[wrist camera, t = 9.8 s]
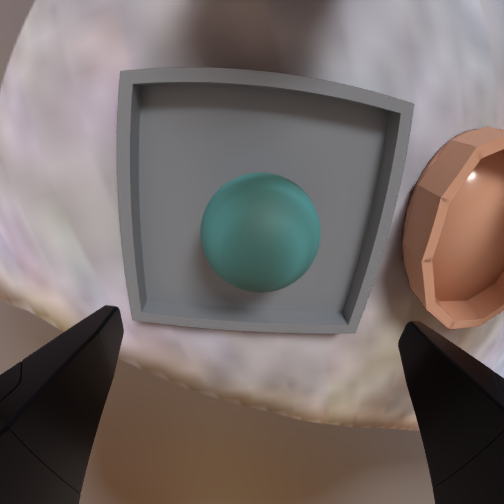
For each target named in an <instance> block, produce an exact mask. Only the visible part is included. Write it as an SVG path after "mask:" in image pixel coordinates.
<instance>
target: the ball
mask: <svg viewBox="0 0 504 504" xmlns="http://www.w3.org/2000/svg"><path fill="white" fill-rule="evenodd" d="M200 233H201V243H202V248H203V251H204V254H205V257H206V259H207V261H208V262H209V264H210V266H211V267H212V269H213V270H214V271H215V272H216V273H217V274H218V275H219V276H220V277H221V278H222V279H223V280H224V281H226V282H227V283H229V284H230V285H232V286H234V287H236V288H239V289H241V290H245V291H249V292H257V293H265V292H272V291H277V290H280V289H283V288H285V287H287V286H289V285H291V284H293V283H294V282H296V281H297V280H298V279H300V278H301V277H302V276H303V275H304V274H305V273H306V272H307V270H308V269H309V268H310V266H311V265H312V263H313V261H314V260H315V257H316V255H317V252H318V249H319V245H320V238H321V227H320V220H319V216H318V213H317V210H316V208H315V206H314V204H313V202H312V201H311V199H310V198H309V196H308V195H307V194H306V193H305V192H304V190H302V189H301V188H300V187H299V186H298V185H297V184H295V183H294V182H292V181H291V180H289V179H287V178H285V177H282V176H279V175H276V174H271V173H250V174H246V175H242V176H239V177H237V178H235V179H233V180H231V181H229V182H227V183H226V184H225V185H223V186H222V187H221V188H220V189H219V190H218V191H217V192H216V193H215V194H214V195H213V197H212V198H211V199H210V201H209V203H208V205H207V206H206V209H205V211H204V214H203V217H202V222H201V231H200Z"/></svg>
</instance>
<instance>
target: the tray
mask: <svg viewBox="0 0 504 504" xmlns="http://www.w3.org/2000/svg"><path fill="white" fill-rule="evenodd" d="M413 108H414V104H413V103H410V102H407V101H404V100H401V99H397V98H394V97H391V96H387V95H384V94H381V93H377V92H373V91H370V90H366V89H362V88H358V87H354V86H349V85H345V84H340V83H336V82H331V81H326V80H321V79H315V78H310V77H304V76H297V75H291V74H283V73H275V72H267V71H257V70H245V69H231V68H205V67H177V68H151V69H137V70H126V71H120V80H119V93H118V111H117V187H118V206H119V220H120V232H121V243H122V252H123V261H124V269H125V276H126V284H127V290H128V297H129V303H130V309H131V315H132V320H135V321H142V322H150V323H159V324H168V325H177V326H187V327H198V328H209V329H222V330H237V331H254V332H276V333H316V334H350V333H355V332H356V330H357V327H358V325H359V322H360V319H361V317H362V314H363V311H364V309H365V306H366V303H367V300H368V297H369V294H370V292H371V289H372V286H373V283H374V280H375V276H376V273H377V270H378V267H379V264H380V261H381V257H382V254H383V251H384V247H385V244H386V240H387V237H388V233H389V229H390V225H391V222H392V218H393V214H394V210H395V206H396V202H397V197H398V193H399V189H400V184H401V179H402V174H403V170H404V164H405V159H406V154H407V148H408V142H409V136H410V130H411V123H412V116H413ZM250 173H271V174H276V175H279V176H282V177H285V178H287V179H289V180H291V181H292V182H294V183H295V184H297V185H298V186H299V187H300V188H301V189H302V190H304V192H305V193H306V194H307V195H308V196H309V198H310V199H311V201H312V202H313V204H314V206H315V208H316V210H317V213H318V216H319V220H320V227H321V238H320V245H319V249H318V252H317V255H316V257H315V260H314V261H313V263H312V265H311V266H310V268H309V269H308V270H307V272H306V273H305V274H304V275H303V276H302V277H301V278H300V279H298V280H297V281H296V282H294V283H293V284H291V285H289V286H287V287H285V288H283V289H280V290H277V291H272V292H265V293H257V292H249V291H245V290H241V289H239V288H236V287H234V286H232V285H230V284H229V283H227V282H226V281H224V280H223V279H222V278H221V277H220V276H219V275H218V274H217V273H216V272H215V271H214V270H213V269H212V267H211V266H210V264H209V262H208V261H207V259H206V257H205V254H204V251H203V248H202V243H201V233H200V231H201V222H202V217H203V214H204V211H205V209H206V206H207V205H208V203H209V201H210V199H211V198H212V197H213V195H214V194H215V193H216V192H217V191H218V190H219V189H220V188H221V187H222V186H223V185H225V184H226V183H227V182H229V181H231V180H233V179H235V178H237V177H239V176H242V175H246V174H250Z"/></svg>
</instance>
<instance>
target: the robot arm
mask: <svg viewBox="0 0 504 504" xmlns="http://www.w3.org/2000/svg"><path fill="white" fill-rule="evenodd" d="M123 333H124V329H123V324H122V319H121V314H120V310H119V308H118V307H116V306H109V305H106V306H104V307H102V308H100V309H99V310H97V311H96V312H94V313H93V314H91V315H90V316H88V317H86V318H85V319H83V320H82V321H80V322H79V323H77V324H76V325H74V326H73V327H71V328H70V329H68V330H66V331H65V332H63V333H62V334H60V335H59V336H57V337H56V338H54V339H53V340H51V341H50V342H48V343H47V344H45V345H44V346H42V347H41V348H40V349H38V350H37V351H35V352H34V353H32V354H31V355H29V356H28V357H26V358H25V359H23V361H22V362H19V363H17V364H16V365H14V366H13V367H12V368H10V369H9V370H7V371H5V372H4V373H2V374H1V375H0V504H79V500H80V493H81V490H82V486H83V481H84V477H85V473H86V468H87V465H88V460H89V457H90V453H91V449H92V445H93V442H94V438H95V435H96V432H97V428H98V425H99V421H100V418H101V415H102V411H103V408H104V405H105V402H106V399H107V396H108V392H109V390H110V386H111V383H112V380H113V377H114V373H115V369H116V364H117V359H118V355H119V351H120V346H121V342H122V338H123ZM398 346H399V351H400V356H401V360H402V365H403V369H404V374H405V379H406V383H407V387H408V390H409V394H410V397H411V400H412V404H413V407H414V411H415V414H416V418H417V422H418V425H419V429H420V433H421V437H422V441H423V445H424V449H425V453H426V458H427V462H428V467H429V472H430V477H431V482H432V487H433V493H434V499H435V504H504V378H503V377H501V376H500V375H498V374H497V373H494V371H493V370H491V369H490V368H488V367H487V366H485V365H484V364H482V363H481V362H480V361H478V360H477V359H475V358H474V357H472V356H471V355H469V354H468V353H467V352H465V351H464V350H462V349H461V348H459V347H458V346H456V345H455V344H453V343H452V342H450V341H449V340H447V339H446V338H444V337H443V336H441V335H440V334H438V333H437V332H435V331H434V330H432V329H431V328H429V327H428V326H426V325H425V324H423V323H422V322H420V321H410V322H408V323H407V325H406V327H405V329H404V331H403V333H402V335H401V337H400V339H399V343H398Z"/></svg>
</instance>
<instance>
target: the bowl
mask: <svg viewBox="0 0 504 504" xmlns="http://www.w3.org/2000/svg"><path fill="white" fill-rule="evenodd" d="M402 255H403V263H404V267H405V271H406V274H407V277H408V279H409V284H410V288H411V290H412V291H413V292H414V293H415V295H416V296H417V297H418V299H419V300H420V301H421V303H422V304H423V305H424V307H425V308H426V309H427V310H428V311H429V312H430V313H431V314H432V315H434V316H435V317H436V318H437V319H438V320H439V321H440V322H441V323H443V324H444V325H445V326H446V327H447V328H448V329H457V328H467V327H476V326H481V325H482V324H484V323H485V322H487V321H489V320H490V319H492V318H493V317H495V316H496V315H497V314H499V313H500V312H502V311H503V310H504V130H501V129H497V128H492V127H485V128H482V129H473V130H469V131H465V132H463V133H461V134H459V135H457V136H455V137H454V138H452V139H451V140H449V141H448V142H447V143H445V144H444V145H443V146H442V147H441V148H440V149H439V150H438V151H437V152H436V154H435V155H434V156H433V157H432V158H431V160H430V161H429V163H428V164H427V166H426V167H425V169H424V170H423V172H422V174H421V176H420V177H419V179H418V181H417V183H416V185H415V188H414V190H413V193H412V195H411V198H410V201H409V204H408V208H407V211H406V215H405V220H404V225H403V234H402Z"/></svg>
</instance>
